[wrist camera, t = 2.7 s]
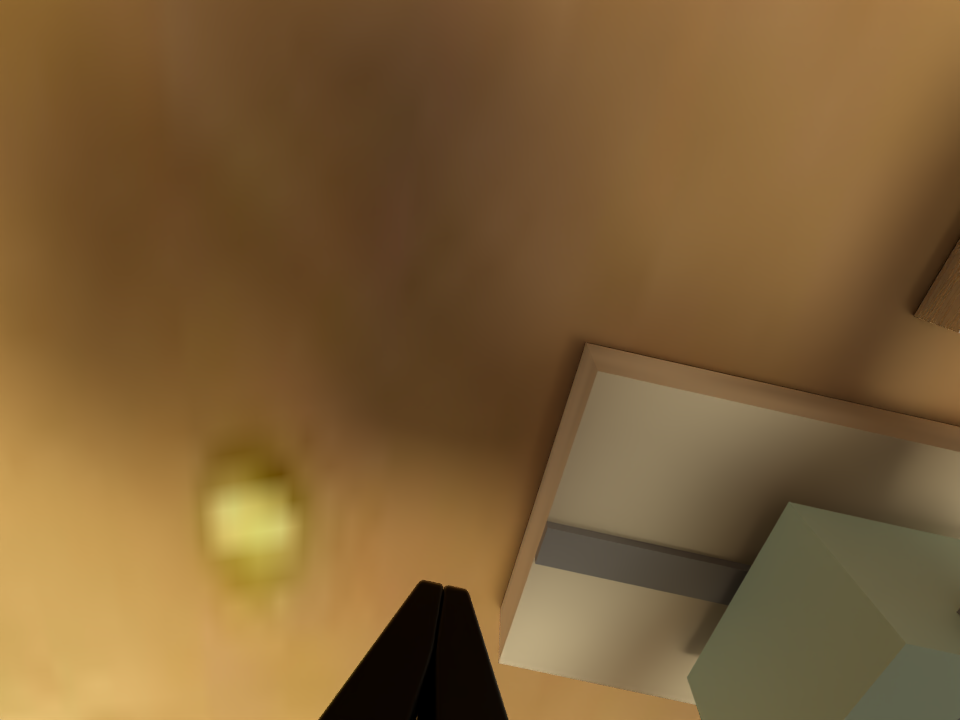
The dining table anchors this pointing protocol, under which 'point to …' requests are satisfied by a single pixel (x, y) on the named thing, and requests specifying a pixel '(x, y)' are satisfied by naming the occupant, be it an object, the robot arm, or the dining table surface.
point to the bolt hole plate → (944, 295)
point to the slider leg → (838, 626)
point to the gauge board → (693, 509)
